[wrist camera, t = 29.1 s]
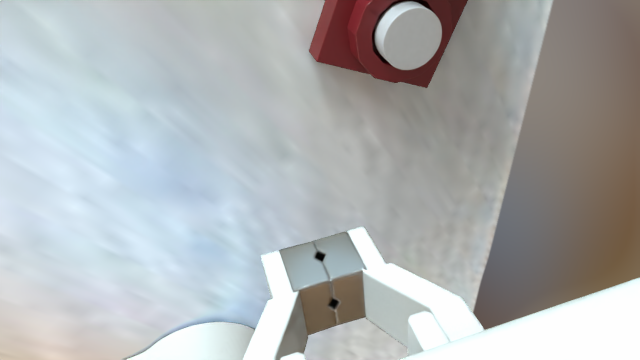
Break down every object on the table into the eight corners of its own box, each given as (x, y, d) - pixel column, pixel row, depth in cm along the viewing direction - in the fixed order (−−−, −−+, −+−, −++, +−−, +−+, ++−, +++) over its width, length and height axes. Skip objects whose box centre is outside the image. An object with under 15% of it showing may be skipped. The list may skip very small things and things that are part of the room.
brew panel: (415, 77, 42) (437, 97, 39) (308, 51, 38) (323, 71, 35) (457, -17, 39) (485, -4, 36) (344, -58, 35) (364, -46, 32)
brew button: (415, 67, 38) (425, 75, 36) (365, 54, 36) (373, 63, 35) (440, 9, 36) (452, 17, 34) (388, -8, 34) (398, -1, 32)
